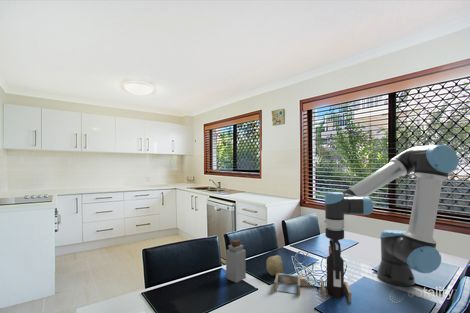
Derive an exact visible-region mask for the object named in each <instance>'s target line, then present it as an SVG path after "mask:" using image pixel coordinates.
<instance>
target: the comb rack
mask: <svg viewBox="0 0 470 313" xmlns="http://www.w3.org/2000/svg"><path fill="white" fill-rule="evenodd" d="M305 278H306V277H301V276H300V275H297V274H290V273H289V274H288V273H284V274H282V273H279V274H276V275H275V279H274V281H273V291H274V292H275V293H279V292H280V293H286V294H293V295H295V294H296V295H298V296H301V286H306V287H313V286H312V285H310V284H309V283H307V282H306V281H305ZM320 280H321V287H320V290H321V295H322V296H321V297H322V299H326V289H327V287H326V288H325V287H324V281H323V280H324V279H323V278H320ZM344 293H345V294H346V298H347V300H348V302H349V303H351V302H352V292H351V289H350V286H349V284H348V282H347V281H345V280H344Z"/></svg>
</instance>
